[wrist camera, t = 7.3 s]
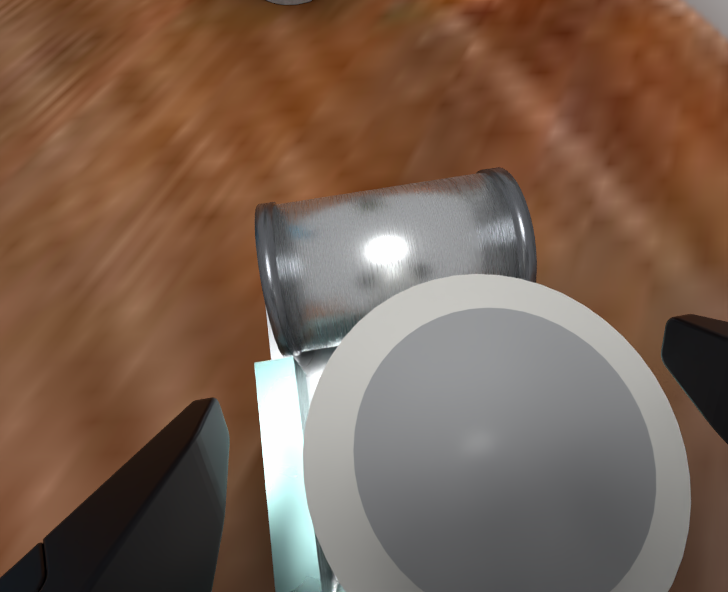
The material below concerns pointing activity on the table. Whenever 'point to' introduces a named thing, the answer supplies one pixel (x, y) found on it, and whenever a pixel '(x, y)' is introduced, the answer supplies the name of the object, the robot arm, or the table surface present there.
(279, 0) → the house plant
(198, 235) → the table surface
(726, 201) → the table surface
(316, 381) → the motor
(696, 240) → the table surface
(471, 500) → the white cylinder
